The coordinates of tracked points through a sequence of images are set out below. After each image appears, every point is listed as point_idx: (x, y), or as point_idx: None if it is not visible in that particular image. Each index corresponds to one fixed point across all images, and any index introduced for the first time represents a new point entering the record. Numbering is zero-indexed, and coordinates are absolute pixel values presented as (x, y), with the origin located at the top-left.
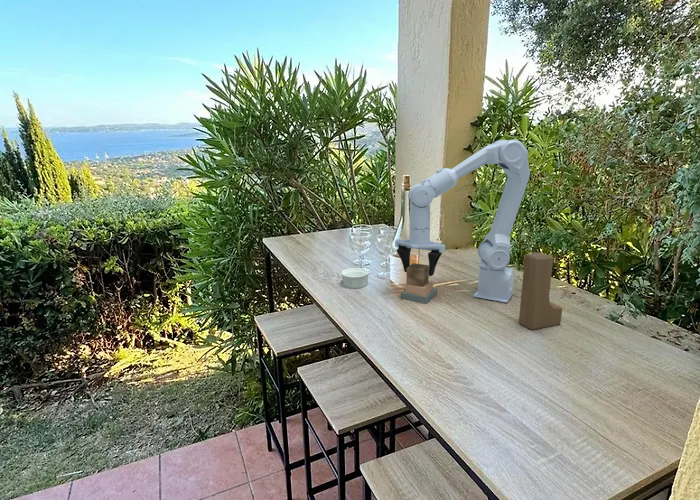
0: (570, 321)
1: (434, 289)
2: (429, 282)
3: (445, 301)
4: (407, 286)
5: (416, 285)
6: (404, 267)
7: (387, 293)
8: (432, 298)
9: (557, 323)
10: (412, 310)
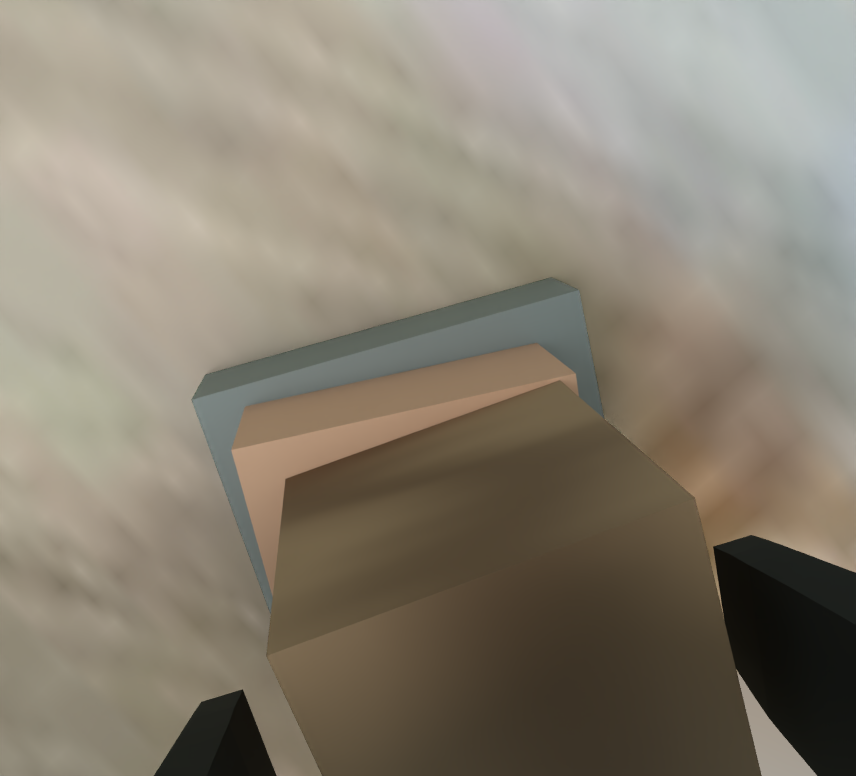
0: None
1: None
2: None
3: (98, 591)
4: (530, 373)
5: (396, 443)
6: (804, 568)
7: (780, 293)
8: None
9: None
10: (190, 73)
